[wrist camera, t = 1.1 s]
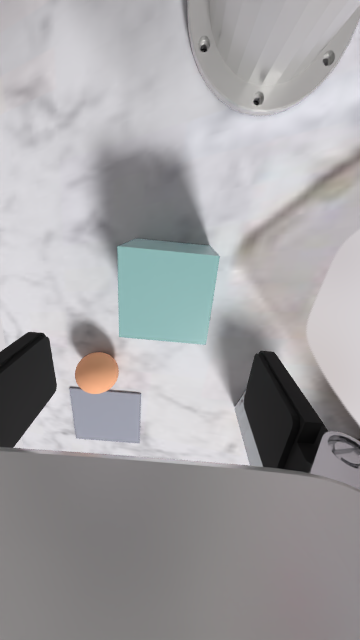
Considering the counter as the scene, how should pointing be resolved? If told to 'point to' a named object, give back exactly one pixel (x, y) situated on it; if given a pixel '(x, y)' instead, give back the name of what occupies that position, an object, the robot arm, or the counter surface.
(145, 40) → the counter surface
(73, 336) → the counter surface
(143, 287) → the mint green block
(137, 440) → the grey square plate
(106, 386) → the ball
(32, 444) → the counter surface
